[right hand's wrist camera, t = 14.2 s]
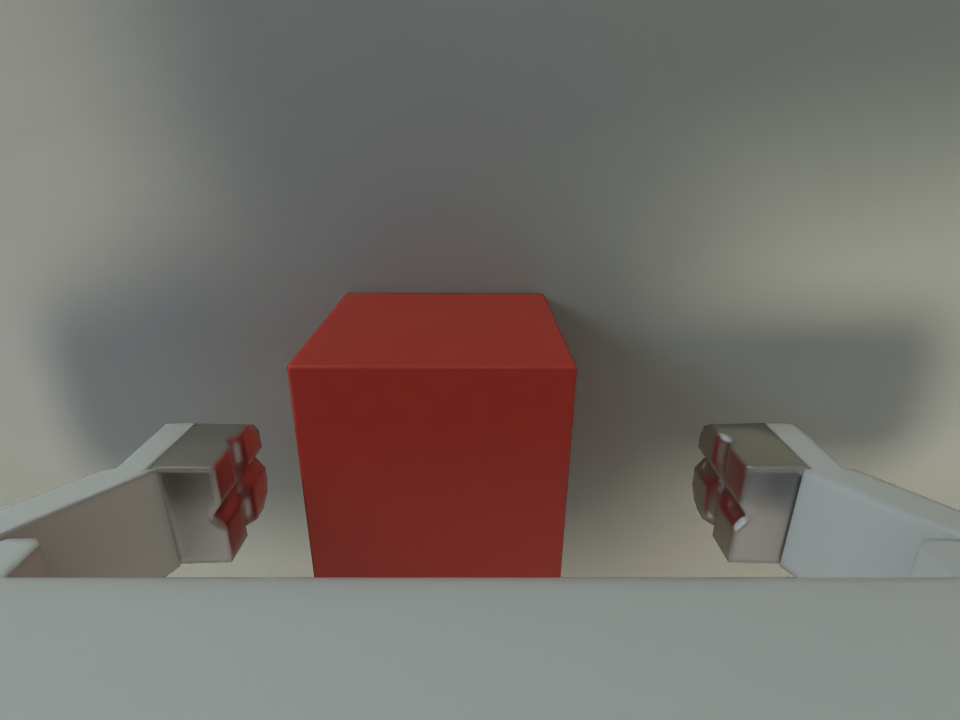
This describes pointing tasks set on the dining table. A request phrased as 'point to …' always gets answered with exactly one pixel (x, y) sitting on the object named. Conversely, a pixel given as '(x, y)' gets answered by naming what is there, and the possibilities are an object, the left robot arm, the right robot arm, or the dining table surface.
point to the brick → (435, 436)
